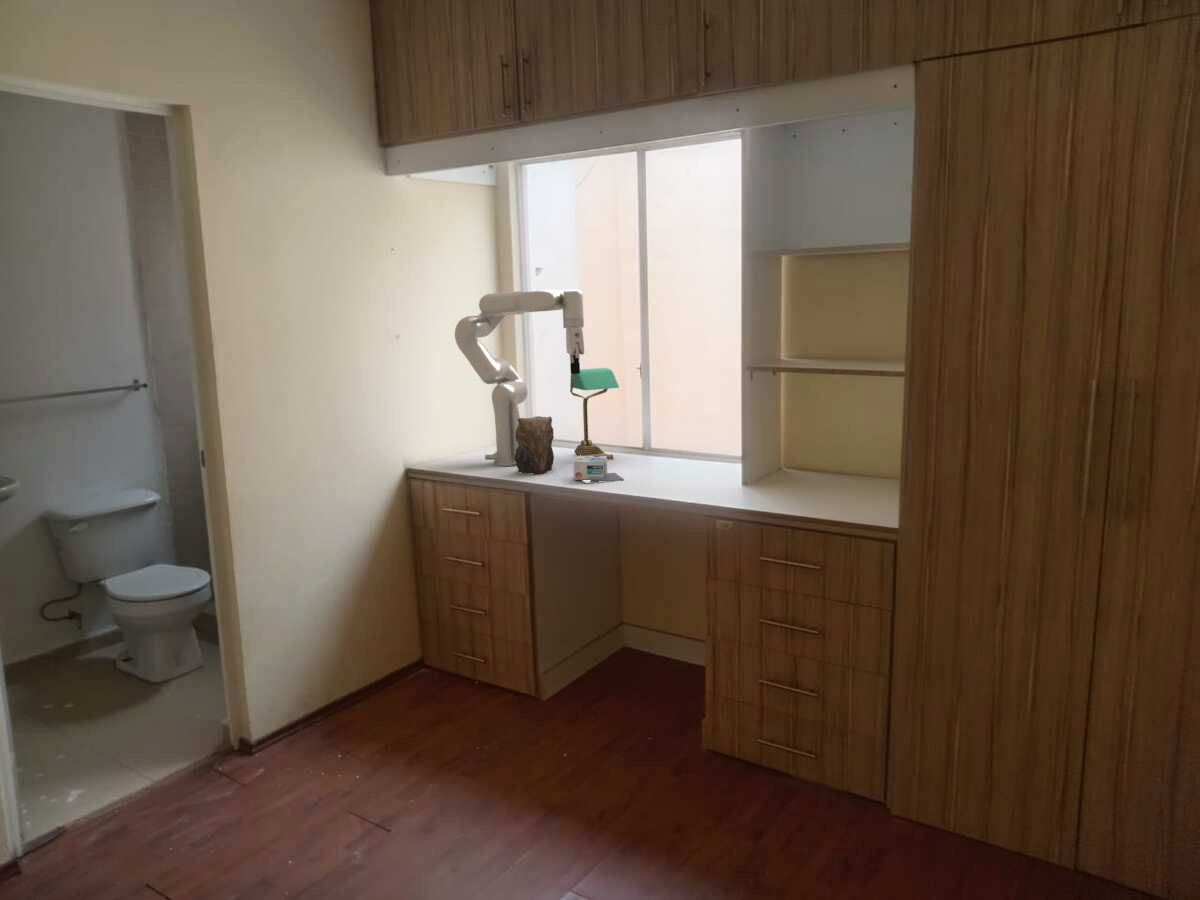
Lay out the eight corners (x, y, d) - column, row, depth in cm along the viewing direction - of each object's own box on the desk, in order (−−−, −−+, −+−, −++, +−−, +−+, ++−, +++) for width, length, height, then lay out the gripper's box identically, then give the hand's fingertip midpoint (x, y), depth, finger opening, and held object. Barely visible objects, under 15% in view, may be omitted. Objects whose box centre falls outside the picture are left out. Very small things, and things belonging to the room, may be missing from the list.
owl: (513, 472, 320) (510, 419, 317) (532, 466, 331) (530, 414, 327) (542, 475, 314) (539, 420, 310) (560, 468, 325) (558, 415, 321)
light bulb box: (607, 455, 310) (603, 460, 299) (607, 474, 311) (604, 480, 300) (577, 455, 311) (573, 461, 300) (578, 474, 312) (573, 480, 301)
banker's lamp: (601, 450, 358) (599, 366, 352) (623, 458, 340) (620, 369, 333) (566, 454, 352) (562, 368, 346) (586, 463, 333) (583, 372, 327)
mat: (584, 483, 298) (584, 482, 297) (576, 476, 309) (576, 475, 309) (623, 480, 301) (623, 479, 301) (614, 473, 312) (614, 472, 312)
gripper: (588, 323, 313) (589, 374, 316) (578, 322, 327) (580, 371, 330) (567, 324, 311) (569, 375, 314) (559, 323, 325) (561, 372, 328)
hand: (575, 373), depth 322 cm, fingers closed
